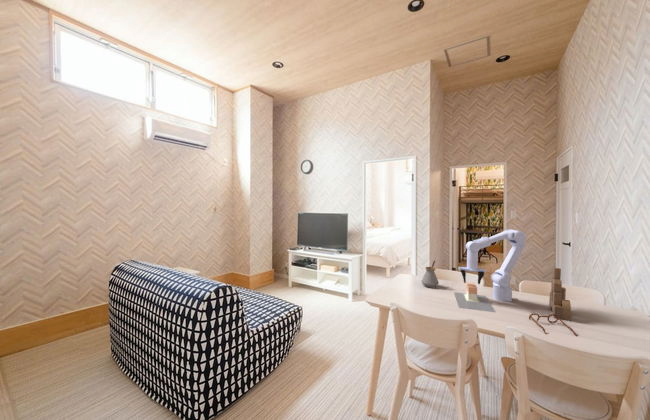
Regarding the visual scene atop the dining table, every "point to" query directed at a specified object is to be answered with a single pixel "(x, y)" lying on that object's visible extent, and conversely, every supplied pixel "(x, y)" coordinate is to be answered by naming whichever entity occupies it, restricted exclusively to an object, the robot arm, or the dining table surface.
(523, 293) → the dining table surface
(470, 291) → the terracotta brick
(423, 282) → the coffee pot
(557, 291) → the wooden toy
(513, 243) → the robot arm
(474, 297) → the cream brick
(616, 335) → the dining table surface
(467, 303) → the baseplate
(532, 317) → the glasses
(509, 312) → the dining table surface
